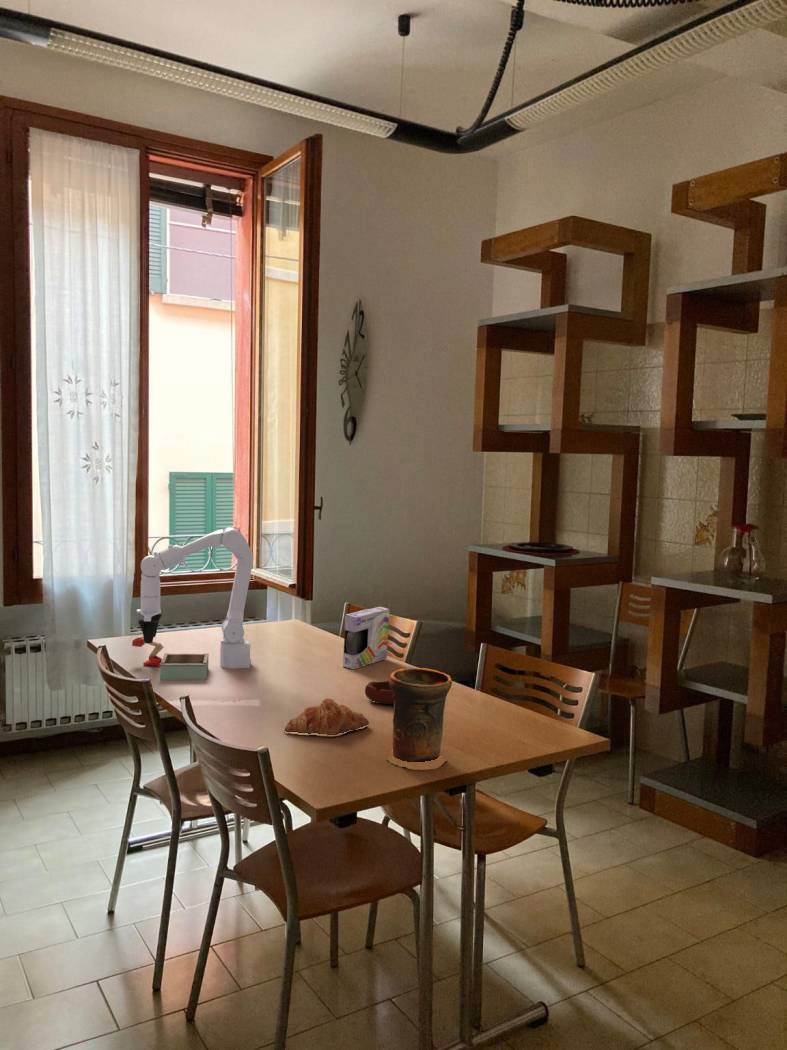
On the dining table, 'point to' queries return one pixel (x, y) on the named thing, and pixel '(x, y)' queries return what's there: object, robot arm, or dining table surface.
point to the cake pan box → (365, 637)
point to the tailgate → (183, 671)
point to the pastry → (327, 719)
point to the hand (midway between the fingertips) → (150, 639)
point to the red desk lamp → (153, 658)
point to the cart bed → (186, 659)
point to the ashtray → (380, 692)
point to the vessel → (418, 713)
